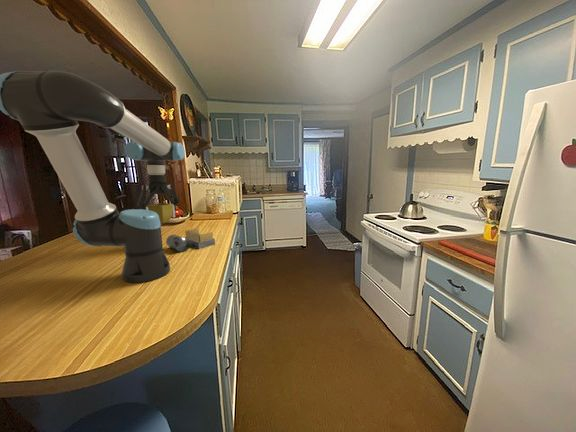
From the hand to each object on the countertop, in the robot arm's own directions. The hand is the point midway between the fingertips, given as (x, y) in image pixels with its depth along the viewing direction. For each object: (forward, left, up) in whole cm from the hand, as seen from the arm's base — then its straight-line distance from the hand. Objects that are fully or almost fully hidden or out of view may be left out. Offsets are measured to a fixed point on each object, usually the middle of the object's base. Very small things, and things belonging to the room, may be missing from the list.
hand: (160, 218), depth 116 cm
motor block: (-13, -8, -13) cm, 20 cm away
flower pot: (0, 0, -2) cm, 2 cm away
